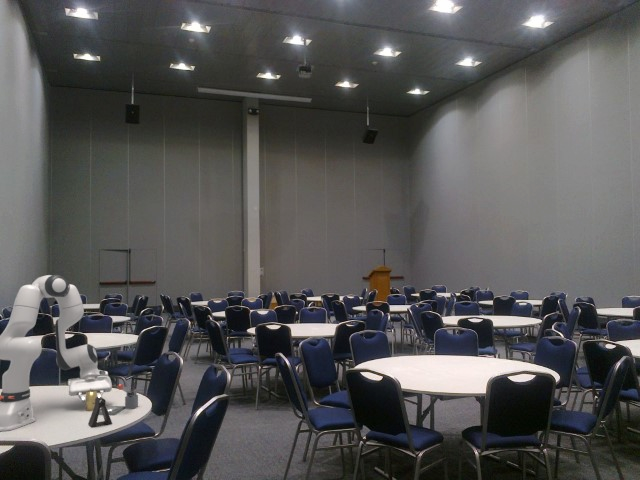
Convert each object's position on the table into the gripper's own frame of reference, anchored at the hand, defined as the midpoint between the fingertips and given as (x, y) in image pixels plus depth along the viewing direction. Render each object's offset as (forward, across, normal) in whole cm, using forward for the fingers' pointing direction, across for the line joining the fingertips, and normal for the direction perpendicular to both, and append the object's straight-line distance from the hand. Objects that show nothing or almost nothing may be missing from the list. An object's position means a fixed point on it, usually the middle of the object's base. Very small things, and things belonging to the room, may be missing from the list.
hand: (91, 400), depth 279 cm
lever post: (+7, +18, 0) cm, 20 cm away
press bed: (+9, +8, -2) cm, 12 cm away
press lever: (+5, +14, -11) cm, 19 cm away
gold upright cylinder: (+3, 0, +4) cm, 5 cm away
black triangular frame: (+24, +1, -16) cm, 29 cm away
